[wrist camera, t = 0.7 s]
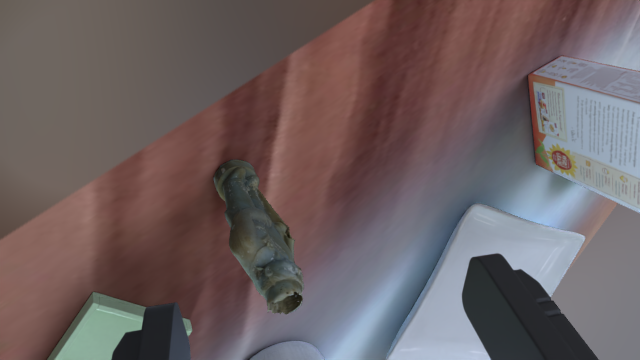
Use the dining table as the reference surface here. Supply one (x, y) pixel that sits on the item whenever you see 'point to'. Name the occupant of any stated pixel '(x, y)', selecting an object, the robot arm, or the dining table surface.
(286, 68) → the dining table surface
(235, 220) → the figurine
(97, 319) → the tray
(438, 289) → the square plate
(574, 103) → the cracker box
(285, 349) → the planter
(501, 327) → the robot arm
